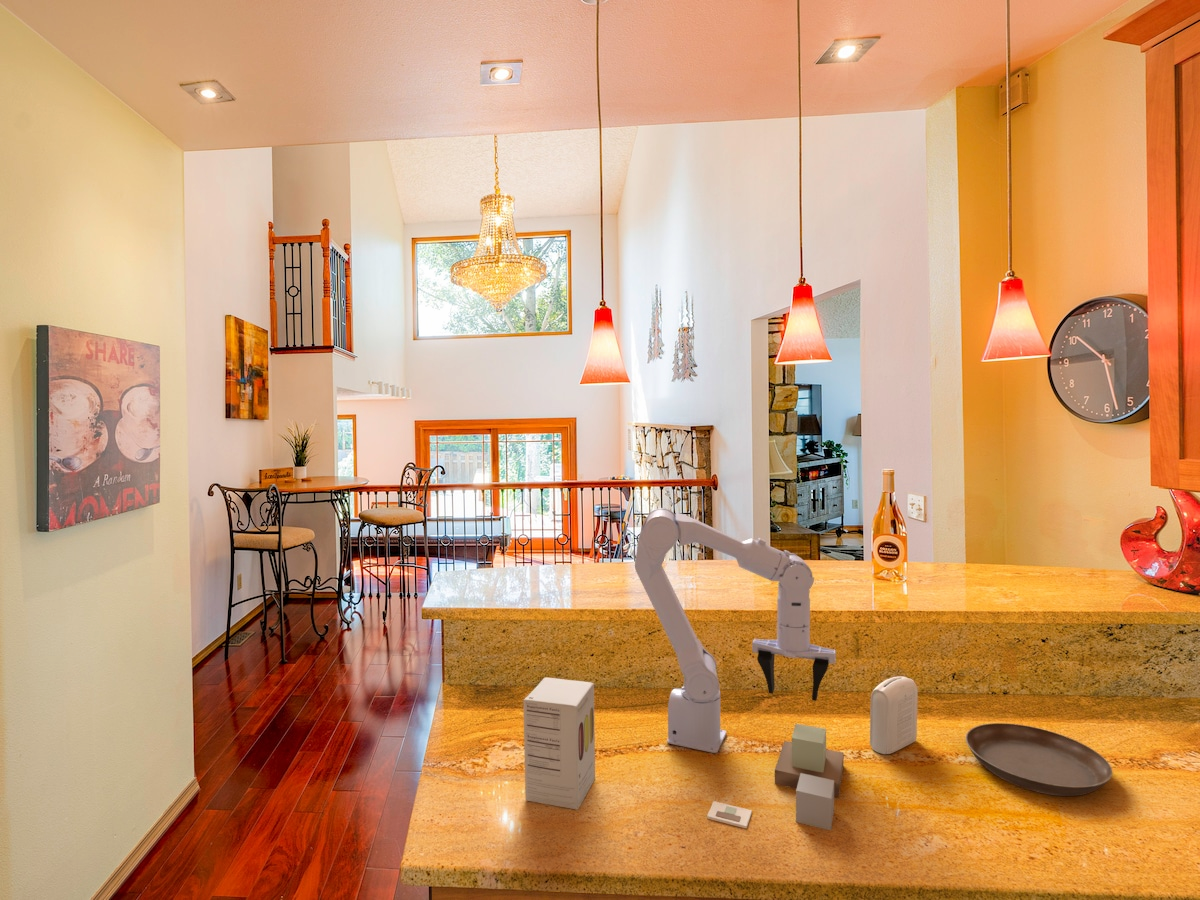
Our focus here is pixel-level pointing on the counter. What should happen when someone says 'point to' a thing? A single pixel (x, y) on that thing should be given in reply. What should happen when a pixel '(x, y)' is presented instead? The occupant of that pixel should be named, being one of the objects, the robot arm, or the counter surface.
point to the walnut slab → (790, 775)
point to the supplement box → (559, 742)
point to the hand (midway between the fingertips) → (792, 694)
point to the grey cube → (815, 801)
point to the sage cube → (809, 748)
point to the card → (729, 814)
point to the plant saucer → (1038, 759)
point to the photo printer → (893, 715)
